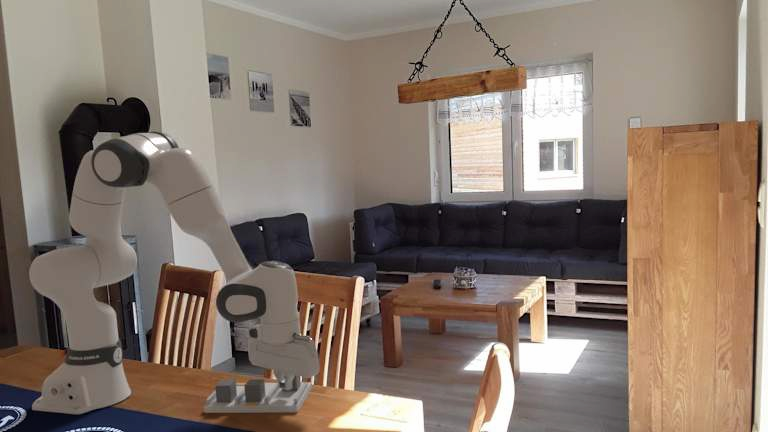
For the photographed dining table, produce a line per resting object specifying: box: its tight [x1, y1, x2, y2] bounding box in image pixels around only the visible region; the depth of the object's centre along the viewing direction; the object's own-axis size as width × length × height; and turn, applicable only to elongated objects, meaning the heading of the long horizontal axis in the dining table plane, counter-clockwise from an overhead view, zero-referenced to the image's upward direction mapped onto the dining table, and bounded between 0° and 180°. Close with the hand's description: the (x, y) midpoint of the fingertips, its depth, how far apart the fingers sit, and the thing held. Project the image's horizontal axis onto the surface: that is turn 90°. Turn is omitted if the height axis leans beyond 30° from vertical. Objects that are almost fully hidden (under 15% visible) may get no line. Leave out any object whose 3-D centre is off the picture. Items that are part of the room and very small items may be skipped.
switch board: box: [203, 381, 313, 414], centre depth 144 cm, size 22×14×3 cm, turn 84°
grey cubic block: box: [244, 378, 266, 402], centre depth 141 cm, size 4×4×4 cm
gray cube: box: [214, 379, 237, 402], centre depth 142 cm, size 4×4×4 cm
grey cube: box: [282, 372, 301, 391], centre depth 146 cm, size 4×4×4 cm
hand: (285, 388), depth 141 cm, fingers closed
